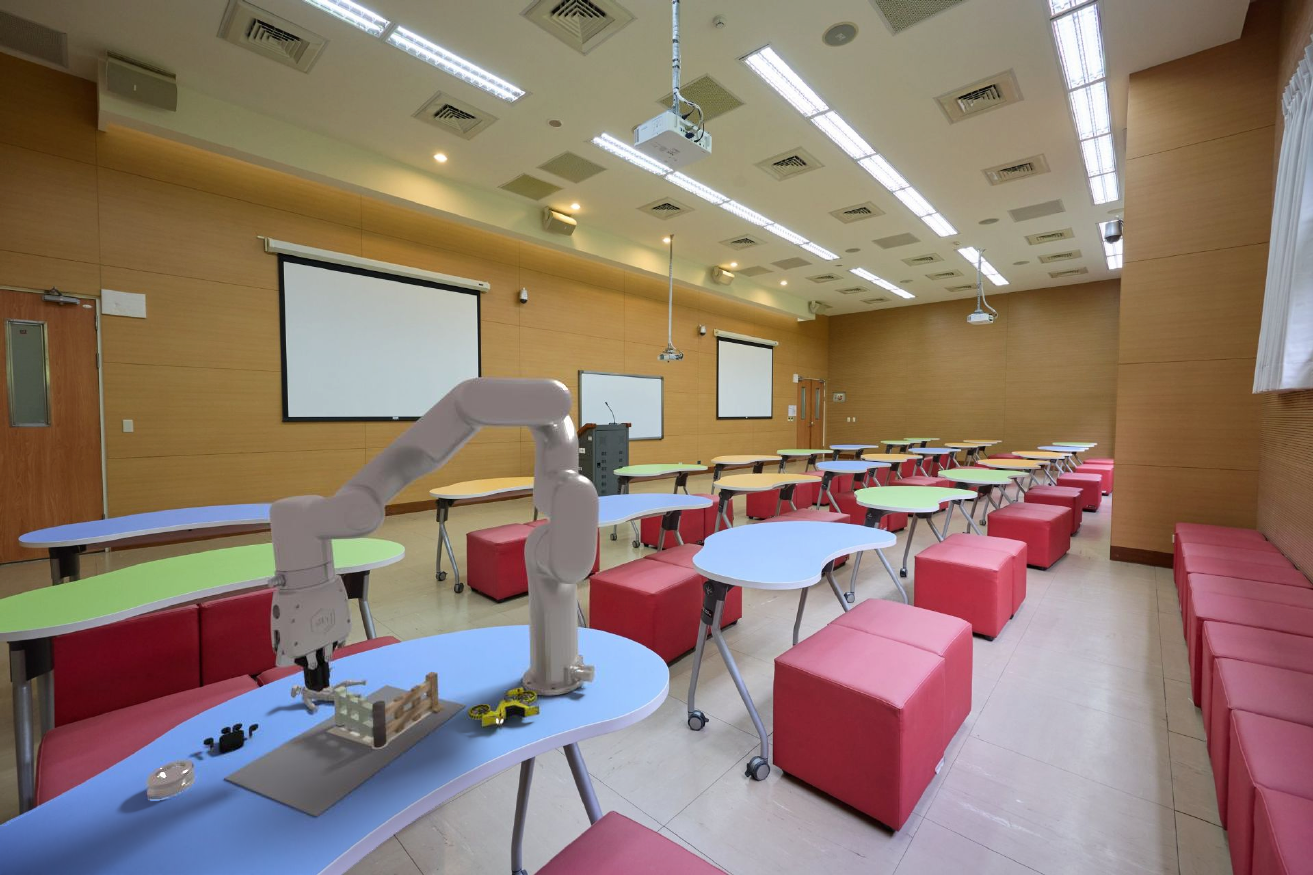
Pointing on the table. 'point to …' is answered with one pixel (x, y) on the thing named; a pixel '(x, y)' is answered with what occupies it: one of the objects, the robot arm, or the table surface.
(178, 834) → the table surface
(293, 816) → the table surface
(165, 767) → the grooved metal pulley
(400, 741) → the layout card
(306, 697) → the soldier figure
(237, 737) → the wireless earbuds
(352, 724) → the fence swing section
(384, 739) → the fence fixed section
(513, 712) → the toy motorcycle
